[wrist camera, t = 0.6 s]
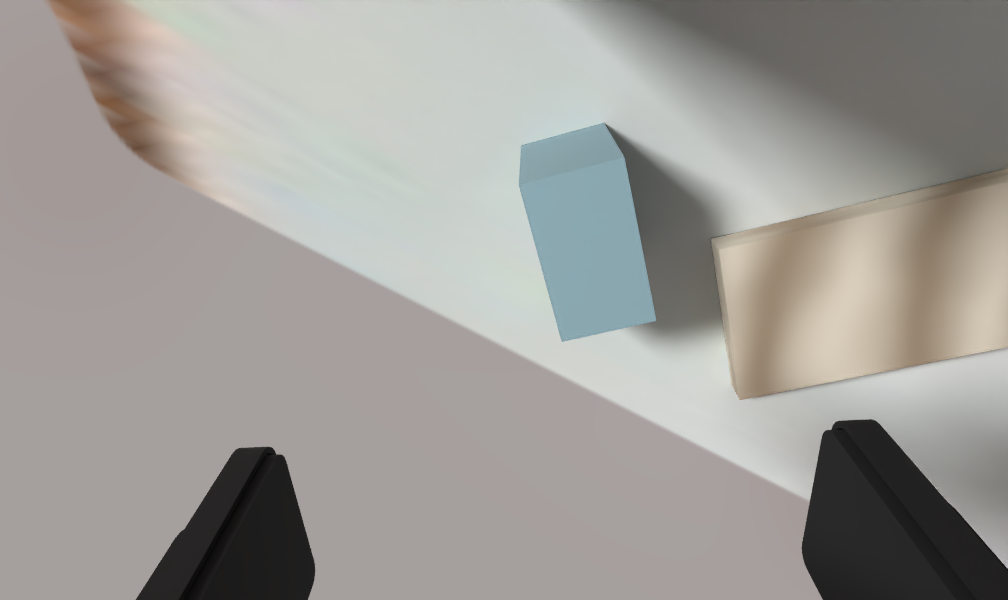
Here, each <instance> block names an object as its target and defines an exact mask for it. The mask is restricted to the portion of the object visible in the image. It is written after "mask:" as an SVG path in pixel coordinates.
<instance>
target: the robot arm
mask: <svg viewBox="0 0 1008 600" xmlns="http://www.w3.org/2000/svg"><path fill="white" fill-rule="evenodd" d="M802 554H803V559H804V563H805V565H806V568H807V570H808V572H809V574H810V576H811V578H812V580H813V582H814V583H815V585H816V587H817V589H818V591H819V593H820V595H821V597H822V599H823V600H1008V569H1007V568H1006V567H1005V565H1004V564H1003V563H1002V562H1001V561H1000V560H999V559H998V557H997V556H996V555H995V554H994V553H993V552H992V551H991V549H990V548H989V547H988V546H987V545H986V544H985V542H984V541H983V540H982V539H981V538H980V537H979V536H978V534H977V533H976V532H975V531H974V530H973V529H972V528H971V526H970V525H969V524H968V523H967V522H966V521H965V520H964V518H963V517H962V516H961V515H960V514H959V513H958V512H957V510H956V509H955V508H954V507H952V506H951V505H950V504H949V503H948V502H947V501H946V500H945V499H944V498H943V496H942V495H941V494H940V493H939V492H938V491H937V490H936V488H935V487H934V486H933V485H932V484H931V483H930V481H929V480H928V479H927V478H926V477H925V476H924V475H923V473H922V472H921V471H920V470H919V469H918V468H917V467H916V465H915V464H914V463H913V462H912V461H911V460H910V458H909V457H908V456H907V455H906V454H905V453H904V452H903V450H902V449H901V448H900V447H899V446H898V445H897V444H896V442H895V441H894V440H893V439H892V438H891V437H890V435H889V434H888V433H887V432H886V431H885V430H884V429H883V427H882V426H881V425H880V424H879V423H878V422H876V421H875V420H871V419H870V420H848V421H837V422H835V424H834V425H833V427H832V430H827V431H825V432H824V433H823V436H822V440H821V445H820V451H819V456H818V462H817V467H816V472H815V478H814V483H813V488H812V494H811V499H810V505H809V510H808V515H807V521H806V526H805V532H804V537H803V542H802ZM314 576H315V564H314V559H313V556H312V553H311V548H310V545H309V542H308V538H307V534H306V531H305V527H304V524H303V520H302V516H301V513H300V509H299V506H298V502H297V498H296V495H295V492H294V488H293V484H292V481H291V477H290V474H289V470H288V467H287V463H286V460H285V457H284V456H283V455H276V453H275V451H274V449H273V448H271V447H254V448H239V449H236V450H235V451H234V453H233V454H232V455H231V457H230V458H229V460H228V462H227V463H226V465H225V466H224V468H223V469H222V471H221V473H220V474H219V476H218V477H217V479H216V481H215V482H214V484H213V485H212V487H211V488H210V490H209V491H208V493H207V495H206V496H205V498H204V499H203V501H202V502H201V504H200V506H199V507H198V509H197V510H196V512H195V514H194V515H193V517H192V518H191V520H190V521H189V523H188V525H187V526H186V528H185V529H184V530H183V531H181V532H180V533H179V535H178V536H177V537H176V538H175V540H174V541H173V543H172V544H171V546H170V547H169V549H168V551H167V552H166V554H165V555H164V557H163V558H162V560H161V561H160V563H159V564H158V566H157V568H156V569H155V571H154V572H153V574H152V575H151V577H150V578H149V580H148V582H147V583H146V585H145V586H144V588H143V590H142V591H141V593H140V594H139V596H138V597H137V599H136V600H308V597H309V594H310V592H311V589H312V586H313V582H314Z"/></svg>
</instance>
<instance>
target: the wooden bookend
mask: <svg viewBox="0 0 1008 600" xmlns="http://www.w3.org/2000/svg"><path fill="white" fill-rule="evenodd" d="M711 244H712V251H713V258H714V265H715V272H716V279H717V286H718V293H719V300H720V306H721V313H722V320H723V327H724V334H725V341H726V348H727V355H728V362H729V369H730V376H731V383H732V386H733V388H734V390H735V392H736V394H737V395H738V397H739V399H740V400H743V399H748V398H753V397H758V396H763V395H768V394H773V393H778V392H783V391H788V390H793V389H798V388H804V387H809V386H814V385H819V384H824V383H829V382H834V381H839V380H844V379H849V378H854V377H859V376H864V375H869V374H874V373H880V372H885V371H890V370H895V369H900V368H905V367H910V366H915V365H920V364H925V363H930V362H935V361H940V360H945V359H950V358H956V357H961V356H966V355H971V354H976V353H981V352H986V351H991V350H996V349H1001V348H1006V347H1008V168H1007V169H1003V170H999V171H994V172H990V173H986V174H982V175H978V176H973V177H969V178H965V179H961V180H957V181H952V182H948V183H944V184H940V185H936V186H931V187H927V188H923V189H919V190H915V191H910V192H906V193H902V194H898V195H894V196H889V197H885V198H881V199H877V200H873V201H868V202H864V203H860V204H856V205H852V206H847V207H843V208H839V209H835V210H831V211H826V212H822V213H818V214H814V215H810V216H805V217H801V218H797V219H793V220H789V221H784V222H780V223H776V224H772V225H768V226H763V227H759V228H755V229H751V230H747V231H742V232H738V233H734V234H730V235H726V236H721V237H717V238H713V239H711Z"/></svg>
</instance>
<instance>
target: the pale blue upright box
mask: <svg viewBox="0 0 1008 600" xmlns="http://www.w3.org/2000/svg"><path fill="white" fill-rule="evenodd" d="M519 187H520V191H521V195H522V198H523V202H524V206H525V209H526V213H527V216H528V220H529V224H530V227H531V231H532V235H533V238H534V242H535V246H536V249H537V253H538V257H539V260H540V264H541V268H542V271H543V275H544V278H545V282H546V286H547V289H548V293H549V297H550V300H551V304H552V308H553V311H554V315H555V319H556V322H557V326H558V330H559V333H560V337H561V340H562V342H563V341H568V340H572V339H577V338H581V337H586V336H590V335H595V334H599V333H604V332H608V331H613V330H617V329H622V328H627V327H631V326H636V325H640V324H645V323H649V322H654V321H656V316H655V311H654V306H653V301H652V295H651V290H650V285H649V280H648V275H647V270H646V265H645V260H644V255H643V249H642V244H641V239H640V234H639V229H638V224H637V219H636V214H635V209H634V203H633V198H632V193H631V188H630V183H629V178H628V173H627V168H626V163H625V157H624V156H623V154H622V152H621V151H620V149H619V147H618V145H617V144H616V142H615V140H614V139H613V137H612V135H611V134H610V132H609V130H608V129H607V127H606V125H605V124H604V123H601V124H598V125H594V126H590V127H587V128H583V129H579V130H576V131H572V132H569V133H565V134H561V135H558V136H554V137H550V138H547V139H543V140H539V141H536V142H532V143H528V144H525V145H521V158H520V175H519Z"/></svg>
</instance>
